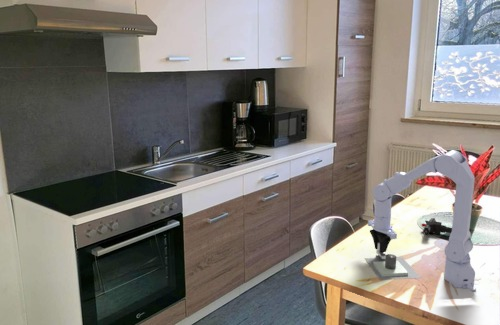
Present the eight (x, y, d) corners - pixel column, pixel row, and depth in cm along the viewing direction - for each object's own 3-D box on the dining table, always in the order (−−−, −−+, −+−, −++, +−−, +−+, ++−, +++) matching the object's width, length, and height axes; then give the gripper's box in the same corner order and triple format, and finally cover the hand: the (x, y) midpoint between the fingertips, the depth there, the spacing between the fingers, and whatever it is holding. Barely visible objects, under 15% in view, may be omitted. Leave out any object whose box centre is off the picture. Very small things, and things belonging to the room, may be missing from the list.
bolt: (387, 258, 158) (388, 247, 157) (381, 259, 158) (381, 247, 157) (382, 252, 163) (382, 240, 162) (375, 252, 163) (376, 241, 162)
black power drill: (463, 220, 190) (426, 214, 198) (458, 230, 173) (418, 224, 181) (461, 231, 191) (425, 225, 198) (456, 243, 174) (417, 236, 182)
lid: (408, 275, 148) (409, 261, 147) (382, 276, 148) (382, 262, 147) (397, 263, 157) (398, 250, 156) (373, 264, 156) (373, 251, 155)
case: (420, 281, 147) (421, 274, 146) (379, 283, 146) (379, 276, 145) (401, 260, 162) (401, 254, 162) (364, 262, 162) (364, 255, 161)
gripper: (404, 220, 153) (402, 256, 156) (379, 207, 166) (377, 241, 169) (387, 223, 151) (385, 259, 154) (363, 210, 164) (362, 244, 167)
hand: (380, 250), depth 161 cm, fingers closed on bolt, 2 cm apart
